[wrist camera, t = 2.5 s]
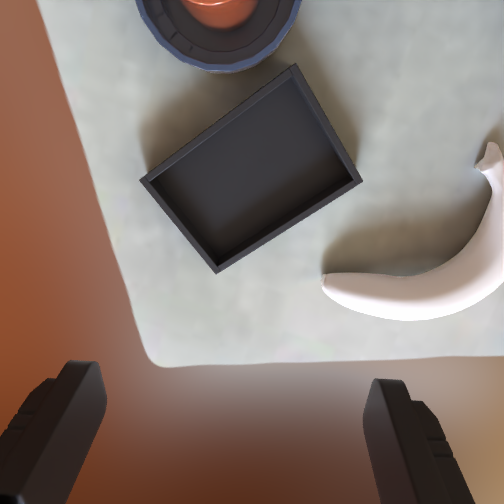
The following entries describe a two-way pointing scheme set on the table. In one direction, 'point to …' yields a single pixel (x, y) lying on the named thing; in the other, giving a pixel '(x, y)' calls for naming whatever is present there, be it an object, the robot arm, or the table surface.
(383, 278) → the banana
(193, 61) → the bowl
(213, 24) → the cup
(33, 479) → the robot arm
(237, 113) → the tray
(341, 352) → the table surface
